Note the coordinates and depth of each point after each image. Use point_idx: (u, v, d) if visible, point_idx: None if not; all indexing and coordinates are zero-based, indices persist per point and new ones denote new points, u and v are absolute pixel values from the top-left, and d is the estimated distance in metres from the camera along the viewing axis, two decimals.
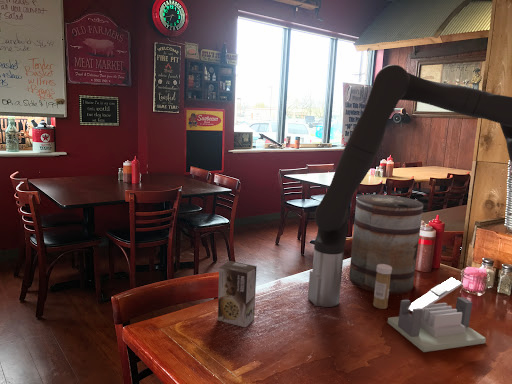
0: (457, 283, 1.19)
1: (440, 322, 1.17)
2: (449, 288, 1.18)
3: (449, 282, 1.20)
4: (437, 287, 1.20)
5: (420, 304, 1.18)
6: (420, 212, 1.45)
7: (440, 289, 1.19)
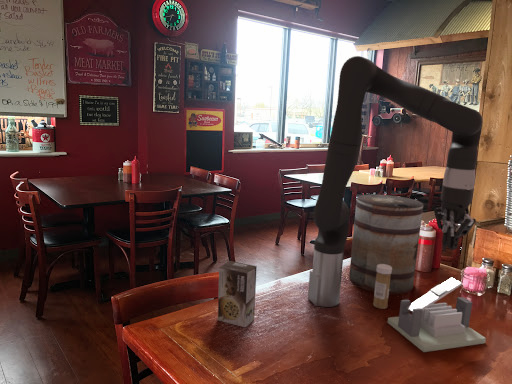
0: (457, 283, 1.19)
1: (440, 322, 1.17)
2: (449, 288, 1.18)
3: (449, 282, 1.20)
4: (437, 287, 1.20)
5: (420, 304, 1.18)
6: (420, 212, 1.45)
7: (440, 289, 1.19)
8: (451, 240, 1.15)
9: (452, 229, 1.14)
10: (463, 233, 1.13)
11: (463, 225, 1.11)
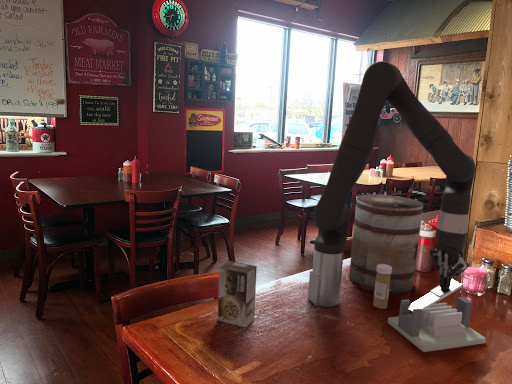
0: (458, 285, 1.19)
1: (440, 322, 1.17)
2: (449, 289, 1.18)
3: None
4: (437, 288, 1.20)
5: (420, 304, 1.18)
6: (420, 212, 1.45)
7: (440, 290, 1.19)
8: (444, 280, 1.18)
9: (445, 270, 1.17)
10: (455, 274, 1.16)
11: (456, 269, 1.13)
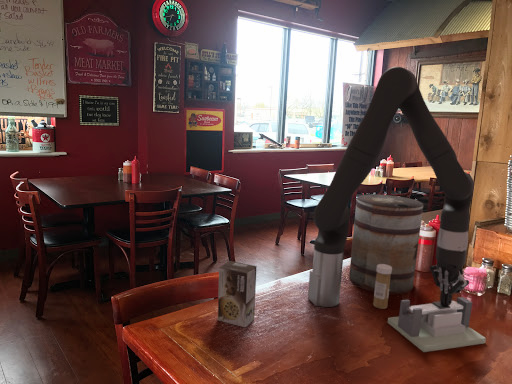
0: (459, 305, 1.21)
1: (440, 322, 1.17)
2: (451, 306, 1.20)
3: (451, 303, 1.22)
4: None
5: (421, 308, 1.18)
6: (420, 212, 1.45)
7: (442, 304, 1.20)
8: (445, 297, 1.19)
9: (446, 287, 1.18)
10: (456, 291, 1.17)
11: (457, 286, 1.14)
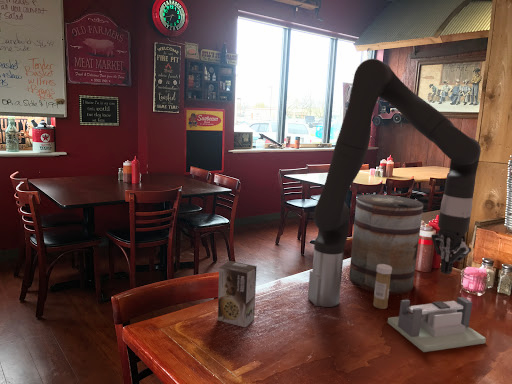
0: (459, 305, 1.21)
1: (440, 322, 1.17)
2: (451, 306, 1.20)
3: (451, 303, 1.22)
4: (440, 302, 1.21)
5: (421, 308, 1.18)
6: (420, 212, 1.45)
7: (442, 304, 1.20)
8: (445, 265, 1.17)
9: (447, 255, 1.16)
10: (457, 259, 1.15)
11: (458, 253, 1.12)
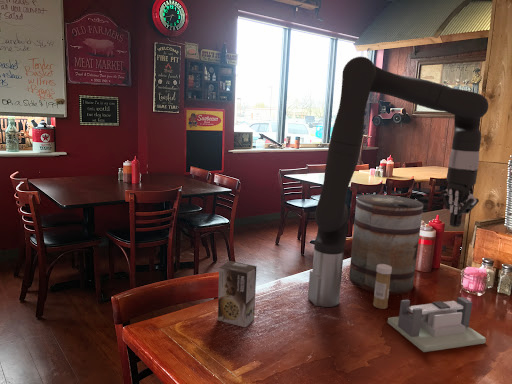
0: (459, 305, 1.21)
1: (440, 322, 1.17)
2: (451, 306, 1.20)
3: (451, 303, 1.22)
4: (440, 302, 1.21)
5: (421, 308, 1.18)
6: (420, 212, 1.45)
7: (442, 304, 1.20)
8: (454, 218, 1.23)
9: (456, 207, 1.22)
10: (466, 211, 1.20)
11: (466, 204, 1.18)
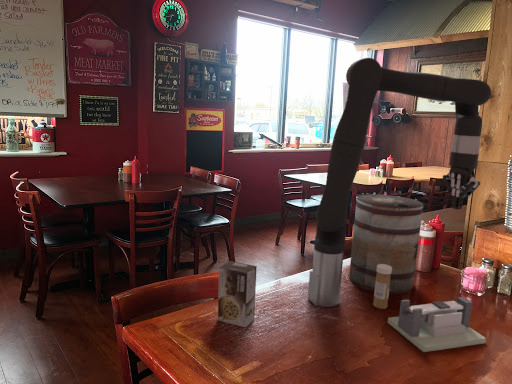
0: (459, 305, 1.21)
1: (440, 322, 1.17)
2: (451, 306, 1.20)
3: (451, 303, 1.22)
4: (440, 302, 1.21)
5: (421, 308, 1.18)
6: (420, 212, 1.45)
7: (442, 304, 1.20)
8: (456, 201, 1.28)
9: (458, 191, 1.27)
10: (467, 193, 1.25)
11: (468, 187, 1.23)
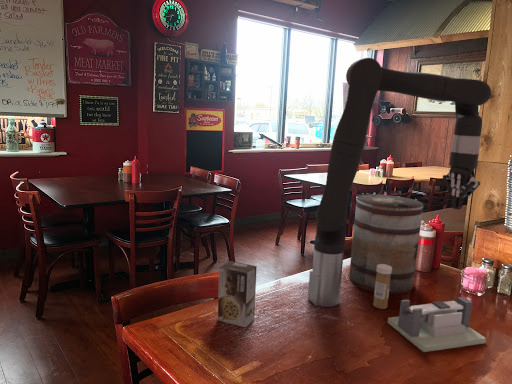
0: (459, 305, 1.21)
1: (440, 322, 1.17)
2: (451, 306, 1.20)
3: (451, 303, 1.22)
4: (440, 302, 1.21)
5: (421, 308, 1.18)
6: (420, 212, 1.45)
7: (442, 304, 1.20)
8: (456, 201, 1.28)
9: (458, 191, 1.27)
10: (467, 193, 1.25)
11: (468, 187, 1.23)
